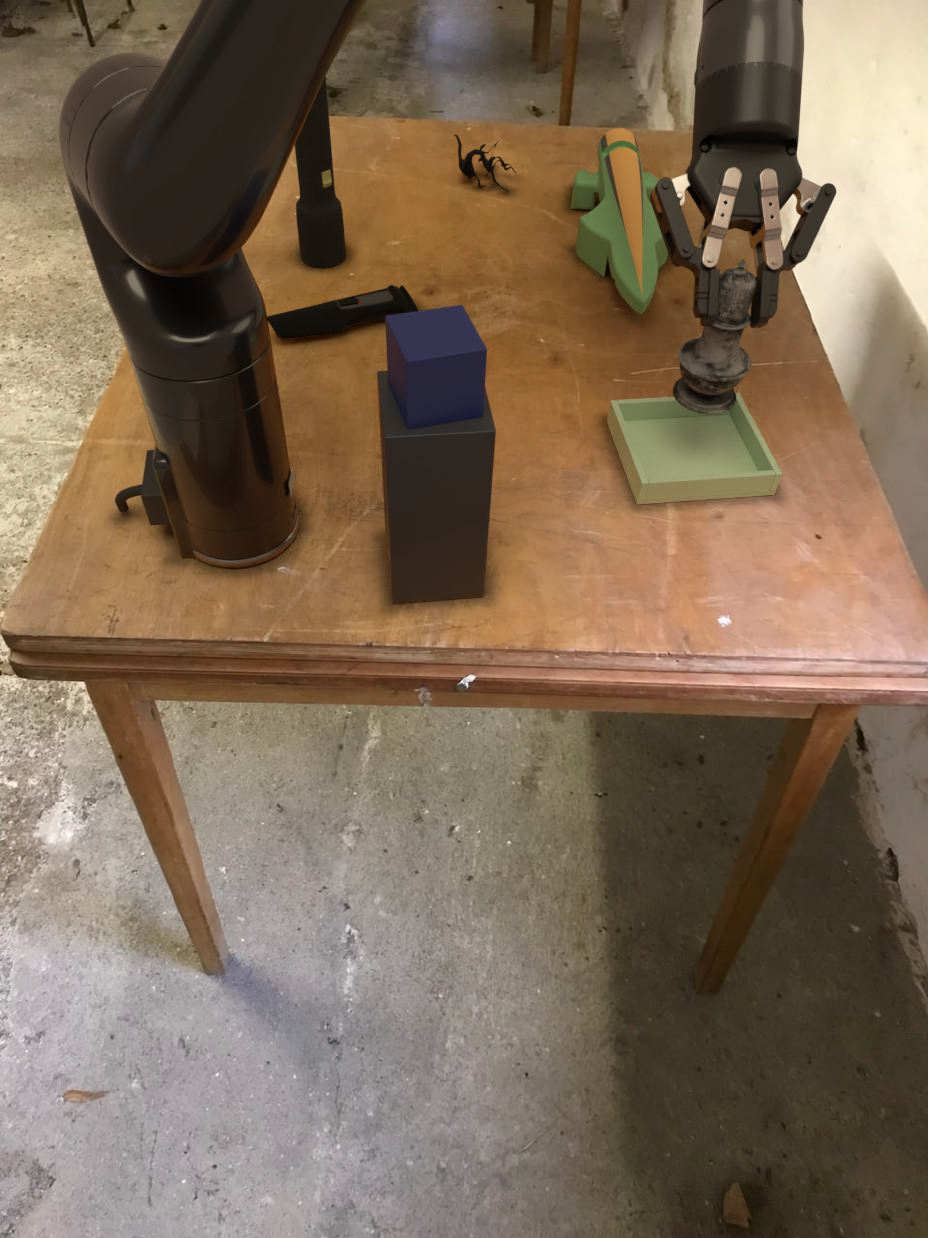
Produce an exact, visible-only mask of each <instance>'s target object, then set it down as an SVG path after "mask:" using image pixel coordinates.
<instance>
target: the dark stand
mask: <svg viewBox="0 0 928 1238" xmlns="http://www.w3.org/2000/svg"><path fill="white" fill-rule="evenodd" d="M376 376H377V377H376V378H377V397H378V415H379V418H378V419H379V437H380V438H379V439H380V456H381V457H380V458H381V476H382V494H383V495H382V497H383V515H384V516H383V517H384V535H385V548H386V556H387V564H388V574H389V582H390V583H389V584H390V592H391V601H392V605H400V604H412V603H426V602H437V601H438V602H439V601H449V600H462V599H476V598H483V597H484V596H485V585H486V571H487V557H488V544H489V530H490V516H491V505H492V489H493V479H494V466H495V465H494V463H495V449H496V439H497V437H496V436H497V430H496V425H495V422H494V417H493V413H492V408H491V405H490V401H489V396H488V392H487V388H486V387H485V394H484V410H483V417H478V418H472V419H466V420H461V421H455V422H449V423H443V424H438V425H432V426H426V427H420V428H415V429H409V430H408V429H407V426H406V424H405V422H404V419H403V417H402V415H401V412H400V410H399V408H398V405H397V403H396V401H395V398H394V396H393V394H392V391H391V389H390V387H389V384H388V372H387V370H377V372H376Z"/></svg>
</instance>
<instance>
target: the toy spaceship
mask: <svg viewBox="0 0 928 1238" xmlns="http://www.w3.org/2000/svg"><path fill="white" fill-rule="evenodd" d="M596 153H597V158H598V168H597V171H596V172H595V173H591V172H590V171H589V170H587V169H585V168H581V169H579V170H577V172H576V173H575V175H574V178H573V184H572V191H571V200H570V209H571V210H585V211H586V210H587V211H589V212H588V213H585V214H583V215H581V216H580V217H579V219H578V227H577V233H576V234H577V235H576V242H575V249H574V250H575V253H576V256H577V257H578V258H579V259H580V260H581V261H582V262H583V263H585V264H586V265H587V266H588V267H590V268H591V269H593V270H594V271H595V272H597V273H598V274H599V275H601V276H602V277H603V278H604V277H605V274H606V269H607V263H608V266H609V272H610V276H611V278H612V279H611V280H614V286H615V288H616V290H617V291H618V293H619V295H620V296H621V297H622V298H623V300H624V301H625V303H627V305H628V306H629V307H630V308H631V309H633V310H634V311H635V313H637V314H640V315H642V314H644V312H645V311H646V310H647V308H648V307H649V305H650V303H651V301H652V300H653V297H654V295H655V290H656V285H657V280H658V274H659V269H660V268H661V267H662V266H663V265H664V264H665V263H666V261H667V259H668V256H669V254H668V251H667V248H666V245H665V242H664V240H663V237H662V234H661V231H660V228H659V225H658V222H657V219H656V216H655V213H654V210H653V207H652V204H651V202H650V194H651V192H652V191H653V189H654V187H655V186H656V184H657V182H658V181H659V179H660V178H658V177H657V176H655V175H653V174H652V173H650V172H648V171H644V168H643V163H642V158H641V155H640V151H639V146H638V141H637V138H636V135H634V134H633V132H631V131H630V130H628V129H627V128H623V127H617V128H612V129H610V130H608V131H607V132H605V133H604V134H603V135H602V136H601V138H600V140H599V142H598V143H597V152H596ZM597 193H598V199H599V203H598V204H597V206H595V205H596V199H597Z"/></svg>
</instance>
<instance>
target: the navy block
mask: <svg viewBox="0 0 928 1238" xmlns="http://www.w3.org/2000/svg"><path fill="white" fill-rule="evenodd" d="M384 320H385V321H384V322H385V341H386V342H385V343H386V346H385V347H386V368H387V369H386V371H387V372H388V384H389V387H390V389H391V391H392V394H393V396H394V398H395V401H396V403H397V405H398V408H399V410H400V412H401V415H402V417H403V419H404V422H405V424H406V426H407V429H408V430H409V429H415V428H420V427H426V426H432V425H438V424H443V423H449V422H455V421H461V420H466V419H472V418H478V417H483V410H484V394H485V388H486V376H487V375H486V374H487V359H488V357H487V356H488V348H487V346H486V345H485V343H484V341H483V339H482V338H481V336H480V334H479V332H478V330H477V329H476V327H475V324H474V323H473V321H472V320H471V318H470V317H469V315H468V313H467V310H466V309H465V307H464V305H463V304H456V305H451V306H444V307H443V306H442V307H437V308H436V307H435V308H431V309H430V308H429V309H423V310H422V309H421V310H418V311H415V312H408V313H401V314H394V315H388V316H385V319H384Z"/></svg>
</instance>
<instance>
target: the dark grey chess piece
mask: <svg viewBox="0 0 928 1238" xmlns="http://www.w3.org/2000/svg"><path fill="white" fill-rule="evenodd" d="M736 265H737V267H732V268H727V269H725V270H724V271H722V272H720V279H719V297H718V314H717V320H716V322H715V323H714V324H713V325H711V326H703V328H702V332H701V334H700V336H699V337H695V338H692V339H689V340H687V341H685V342H684V343H683V344H682V345H680V347H679V349H678V351H677V358H678V361H679V371H680V375H681V377H680V378H678V379H677V380H676V381H675V383H674V384H673V386H672V395H673V397H674V398H675V399H676V400H677V402H678V403H679V404H681V405H682V406H683V407H685V408H687V409H689V410H691V411H693V412H697V413H700V414H708V415H710V414H720V413H724V412H726V411H728V410H730V409H731V408H732V407H733V406H734V405H735V402H736V393H737V392H736V391H735V390H734V389H735V388H736V387H737V386H738V385H739V384H740V382H741V381H743V379H744V377H745V376H747V374H748V373H750V371H751V368H752V359H751V357H750V355H749V353H748V352H747V351H746V350H745V349H744V347H742V346H740V345H741V340H742V337H743V333H744V330H745V328H746V327H748V326H750V318H751V314H750V313H749V310H750V308H751V301H752V298H753V294H754V291H755V288H756V279H755V277H756V276H755V275H754V274H753V273H752V272H750V271H749V270H747V269H746V268H747V266H748V265H747V263H746V261H745V259H742V260H740V261H739V262H737V263H736Z"/></svg>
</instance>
